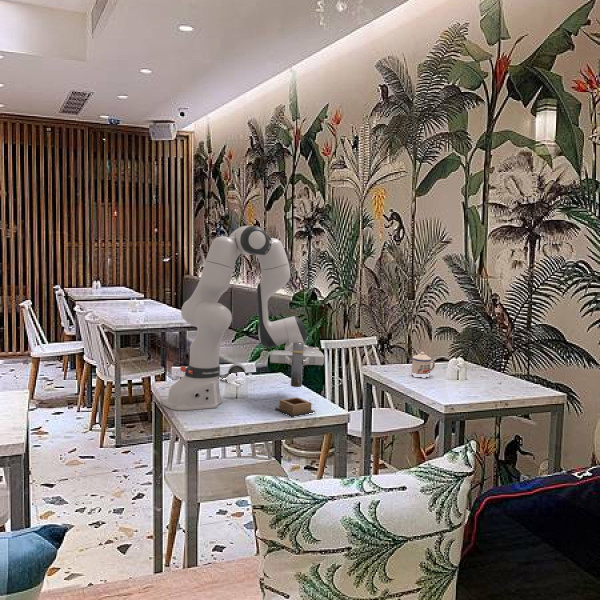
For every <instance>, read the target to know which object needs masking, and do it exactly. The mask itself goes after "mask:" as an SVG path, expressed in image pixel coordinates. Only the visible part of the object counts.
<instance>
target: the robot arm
mask: <svg viewBox="0 0 600 600" xmlns="http://www.w3.org/2000/svg"><path fill="white" fill-rule="evenodd" d="M282 243H283V242H282V241H280V239H278V238H276V237H270V236H269V234H267V232H266V231H265V230H264V229H263V228H262V227H260V226H256V225H243V226H242V225H241V226H238V227H236V228H234V229H233V230H232V231H231V232H230V233H229V234H228V235H227V236H224V235H223V236H217V237H214V240H213V241H212V243H211V245H210V247H209V250H208V252H207V255H206V258H205V260H204V265H203V268H202V273H201V275H200V279H199V280H198V284H197V285H196V287H195V289H194V291H193V293H192V295H191V296H190V297H189V298H188V299H187V300H186V301H185V302H184V303H183V304H182V307H181V311H180V313H181V317H182V319H183V320H184V321H185V322H186V323H187V324H188V325H190V326H192V327H195V328H197V329H196V330H197V331H196V335H195V338H194V340H193V341H192V342H191V344H190V346H189V364H188V365H187V366H184V365H181V366H180V367H179V370H180V372H183V373H184V375H183V376H182V377H181V378H180V379H178V380H177V381H176V382H175V383H174V384H172V385H171V386H170V388H169V390H168V397H167V398H163V399H162V400H161V404H162V405H163V406H164V407H166V408H168V409H171V410H174V411H191V410H192V411H193V410H201V409H203V410H204V409H215V408H218V406H219V405H220V404H222V403H223V401H222V397H221V396H222V395H221V392H220V378H221V376H220V374H221V366H220V353H221V352H220V351H221V349H220V348H221V343H222V339H223V337H224V334H225V331H226V330H228V328H230V326H231V323H232V321H233V316H232V315H233V314H232V312H231V310H230V309H229V308H228V307H226V306H225V305H223V304H222V303H220V302H219V300H220V298H221V297H222V296H223V294H224V293H225V292H227V291H228V290H229V288H230V285H231V280H232V276H233V272H234V269H235V265H236V261H237V259H238V258H239V256H240V255H246V256H251V255H255V257H256V258H257V259H258V262H259V265H260V269H261V280H260V282H259V283H257V285H256V299H257V300H256V302H257V314H258V333H257V334H258V340H259V342H260V345H262V346H263V347H265V348H268V349H272V348H274V347H277V346H281V345H284V344H285V346H284V350H272V351H270V353H269V362H270V363H271V364H288V365H289V366H291V367H292V349H293V342H302V343H304V353H303V366H309V365H310V366H311V365H313V366H314V365H315V366H323V365H324V363H325V362H324V361H325V356H324V353H323V352H322V351H321V350H320V348H319V347H318V346H311V345H307V344H306V341H307V339H308V336H307V335H308V334H307V331H306V328H305V324H304V321H302V320H303V319H301V318H300V317H298V316H296V315H293V316H290V317H285V318H281V319H277V320H274V321H273V320H272V321H270V320H269V309H268V308H269V307H268V303H269V302H268V301H269V299H270V298H271V297H272V296H274V295H275V294H276V293H277V292H278V291H280V290H282V289H283V288H284V287H285V286H286V285H287V284H288V282H289V281H290V279H291V268H290V263H289V259H288V255H287V253H286V251H285V248H284V246H283V244H282Z"/></svg>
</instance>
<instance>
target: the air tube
mask: <svg viewBox="0 0 600 600" xmlns="http://www.w3.org/2000/svg"><path fill="white" fill-rule="evenodd" d="M303 353H304V343H302V342H293V349H292V366H291V372H290V373H291V374H290V386H291V387H293V388H301V387H302V386H303V385H302V384H303V366H304V365H303Z"/></svg>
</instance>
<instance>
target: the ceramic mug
mask: <svg viewBox="0 0 600 600" xmlns="http://www.w3.org/2000/svg"><path fill="white" fill-rule="evenodd" d="M237 372H245V374H246V373H247V372H246V368H245V366H244V365H243V364H242V363H239V362H237V363H236V362H235V363H232V364H231V365H230V366H229V368H228V370H227V372H226V373H224V374H223V375H221V376H220V379H221V378H222V379H223V378H226V377H227V376H228V375H229V374H231V373H237ZM246 375H247V374H246ZM222 379H221V380H222Z"/></svg>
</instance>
